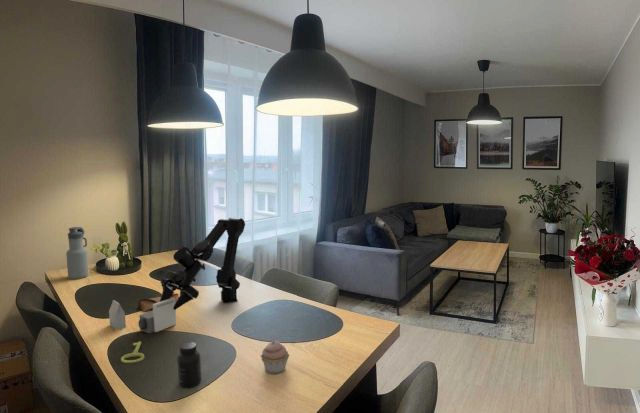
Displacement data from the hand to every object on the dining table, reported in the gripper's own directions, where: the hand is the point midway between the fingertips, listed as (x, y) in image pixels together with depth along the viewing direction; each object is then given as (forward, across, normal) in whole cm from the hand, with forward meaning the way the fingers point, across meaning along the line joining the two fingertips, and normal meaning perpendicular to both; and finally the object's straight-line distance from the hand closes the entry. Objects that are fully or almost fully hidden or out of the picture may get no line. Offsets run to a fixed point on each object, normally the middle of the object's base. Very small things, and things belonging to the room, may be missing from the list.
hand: (167, 306), depth 162 cm
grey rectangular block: (+8, -4, +4) cm, 10 cm away
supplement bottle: (+20, +40, -7) cm, 45 cm away
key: (+20, +10, -7) cm, 24 cm away
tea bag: (+14, -18, -2) cm, 23 cm away
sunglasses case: (-2, -23, +15) cm, 28 cm away
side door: (+7, 0, +5) cm, 8 cm away
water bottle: (0, -99, +13) cm, 100 cm away
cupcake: (+5, +56, +8) cm, 57 cm away
